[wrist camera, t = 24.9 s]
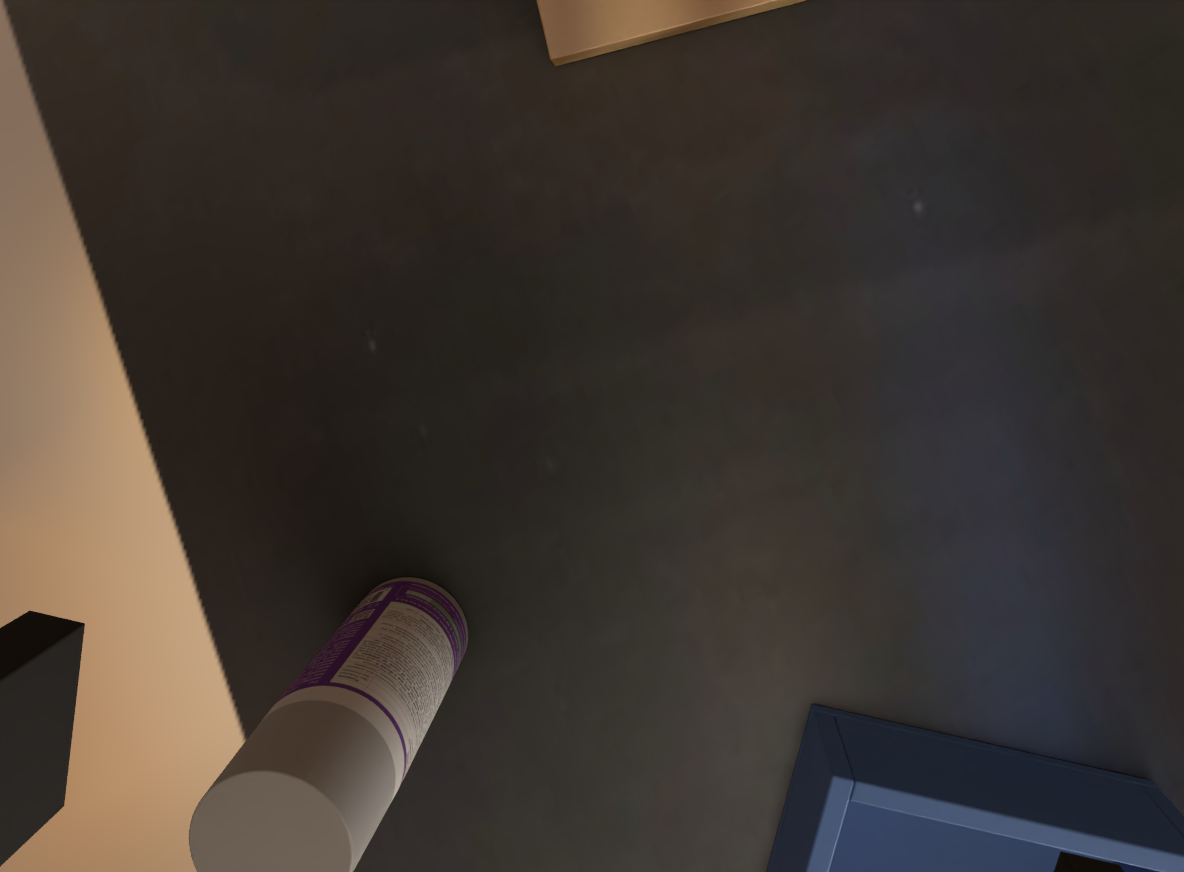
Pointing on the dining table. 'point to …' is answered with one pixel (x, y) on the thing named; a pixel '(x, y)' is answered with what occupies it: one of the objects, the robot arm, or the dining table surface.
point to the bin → (959, 806)
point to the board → (632, 22)
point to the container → (335, 740)
